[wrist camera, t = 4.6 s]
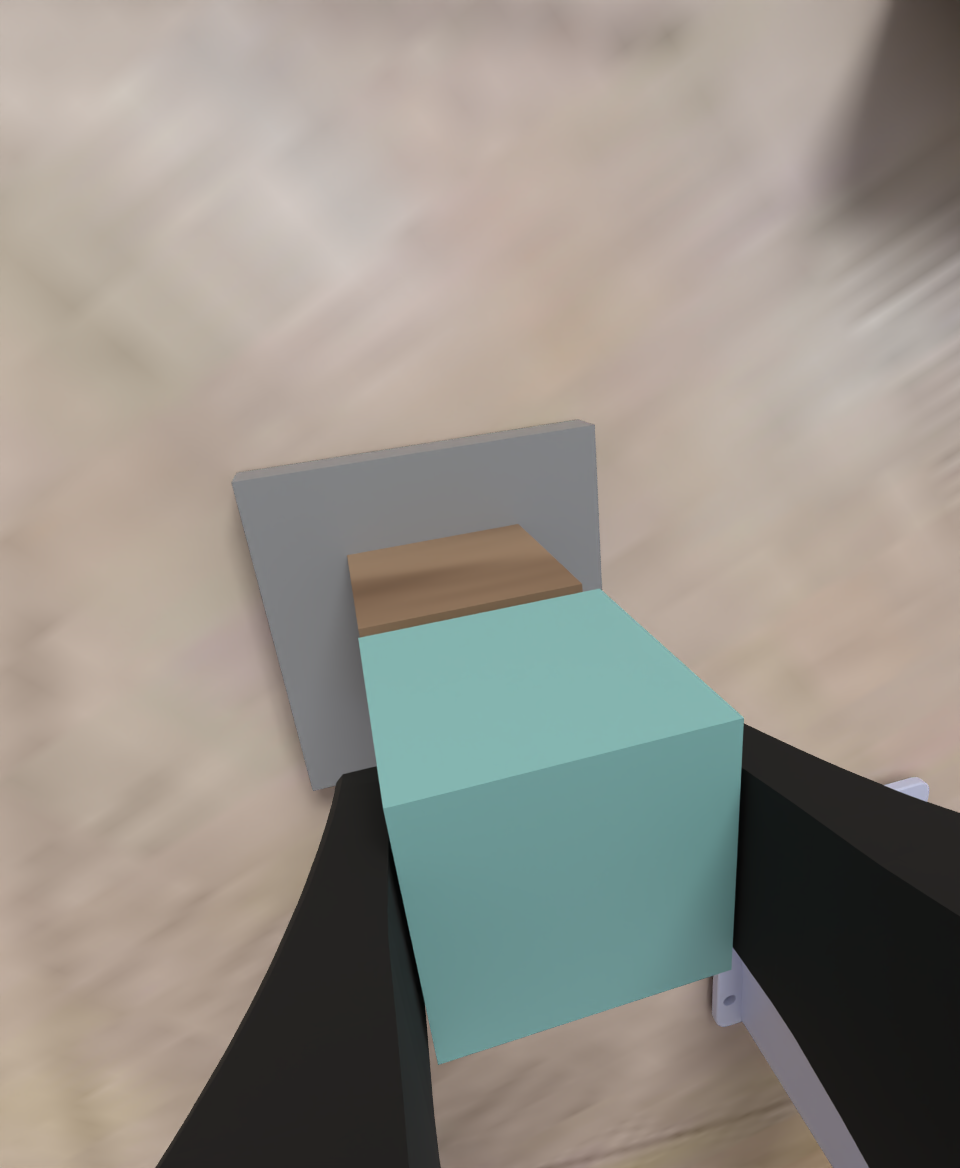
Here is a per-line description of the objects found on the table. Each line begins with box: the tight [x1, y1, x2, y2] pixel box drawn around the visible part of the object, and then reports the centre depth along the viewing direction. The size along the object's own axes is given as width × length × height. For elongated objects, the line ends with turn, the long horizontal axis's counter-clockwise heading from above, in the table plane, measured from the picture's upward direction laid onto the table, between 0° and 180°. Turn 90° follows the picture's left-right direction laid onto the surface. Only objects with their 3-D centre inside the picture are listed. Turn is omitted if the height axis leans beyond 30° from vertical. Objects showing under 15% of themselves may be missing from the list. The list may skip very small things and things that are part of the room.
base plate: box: [232, 419, 602, 791], centre depth 16 cm, size 8×8×1 cm
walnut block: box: [347, 524, 583, 638], centre depth 14 cm, size 4×4×4 cm
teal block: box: [358, 589, 744, 1065], centre depth 9 cm, size 4×4×4 cm
